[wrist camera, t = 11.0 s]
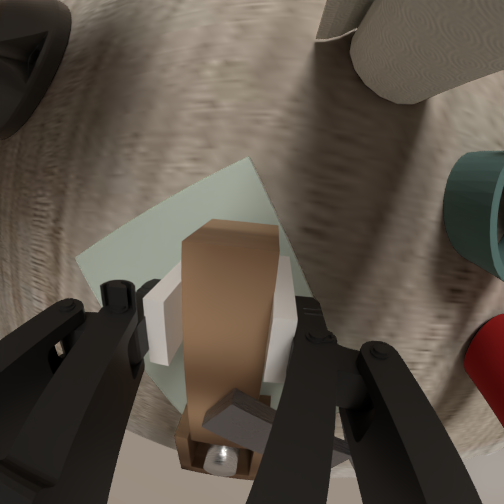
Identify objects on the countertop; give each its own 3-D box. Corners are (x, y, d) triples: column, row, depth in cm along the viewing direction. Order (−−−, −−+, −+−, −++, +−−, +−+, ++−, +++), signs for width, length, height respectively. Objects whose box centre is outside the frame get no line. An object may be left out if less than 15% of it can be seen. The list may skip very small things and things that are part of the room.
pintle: (216, 394, 19) (197, 463, 13) (239, 389, 19) (225, 462, 12) (228, 409, 19) (214, 477, 13) (251, 405, 19) (241, 475, 13)
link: (193, 216, 15) (155, 238, 10) (298, 227, 14) (309, 255, 9) (196, 422, 19) (181, 468, 14) (263, 432, 19) (258, 480, 14)
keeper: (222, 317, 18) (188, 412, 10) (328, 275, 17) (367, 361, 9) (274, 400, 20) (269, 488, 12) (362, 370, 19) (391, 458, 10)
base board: (83, 253, 18) (74, 257, 17) (250, 157, 15) (248, 156, 14) (210, 432, 22) (207, 441, 21) (353, 396, 20) (355, 406, 18)
